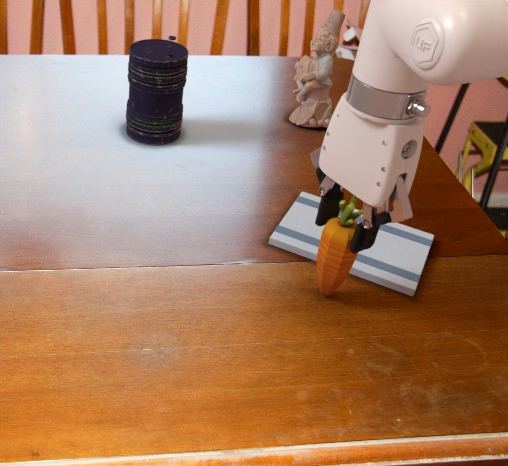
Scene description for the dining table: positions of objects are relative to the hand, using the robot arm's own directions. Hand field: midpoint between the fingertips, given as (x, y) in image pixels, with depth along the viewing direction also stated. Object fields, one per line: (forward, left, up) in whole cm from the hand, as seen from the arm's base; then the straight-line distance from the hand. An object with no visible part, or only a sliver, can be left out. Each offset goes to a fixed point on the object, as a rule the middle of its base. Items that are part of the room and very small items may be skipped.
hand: (342, 234), depth 78 cm
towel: (0, -13, -10) cm, 16 cm away
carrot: (0, 0, -10) cm, 10 cm away
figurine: (+17, -46, -10) cm, 50 cm away
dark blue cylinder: (+39, -25, -10) cm, 47 cm away
